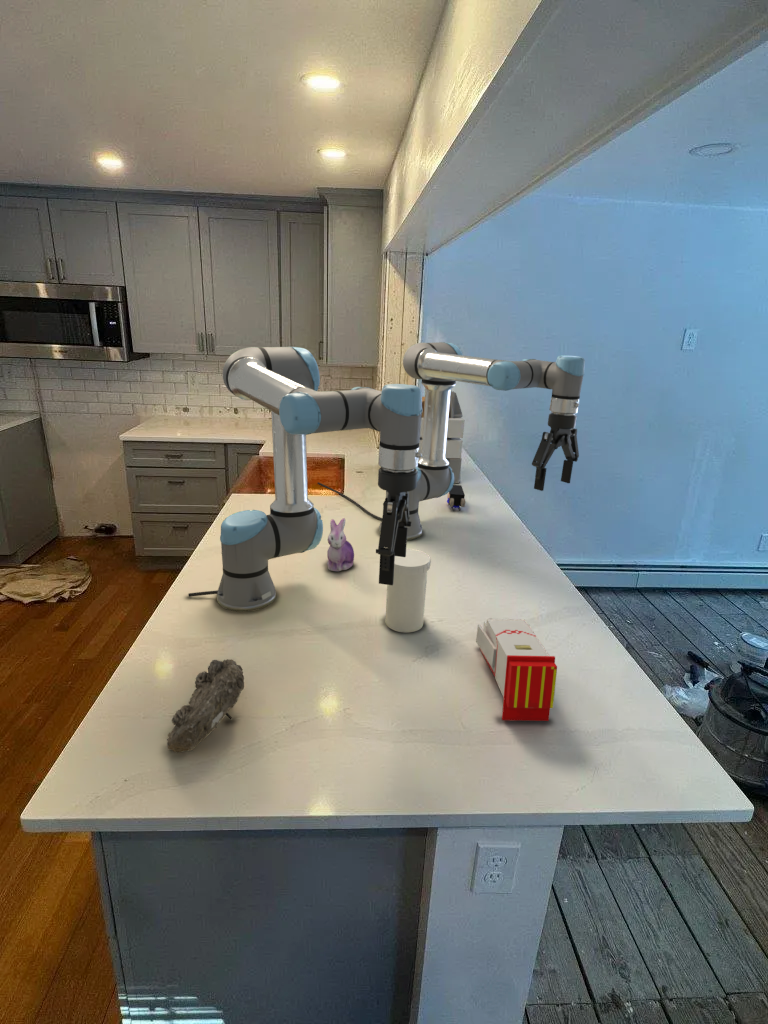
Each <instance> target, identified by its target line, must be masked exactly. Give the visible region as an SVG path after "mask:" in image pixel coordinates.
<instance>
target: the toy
mask: <svg viewBox="0 0 768 1024" xmlns="http://www.w3.org/2000/svg"><path fill="white" fill-rule="evenodd" d="M476 629H477V631H476V638H475V642H476V645H477V646H478V648H479V650H480V652H481V654H482V656H483V658H484V660H485V661H486V664H487V666H488V668H489V669H490V671H491V672H492V675H493V676H494V679H495V681H496V685H497V686H498V688H499V690H500V692H501V695H502V697H503V701H502V712H501V720H502V721H521V722H523V721H526V722H528V721H529V722H550V712H551V709H554V702H555V692H556V681H557V673H558V665H557V664H556V656H555V655H550V654H549V652H548V651H547V650H546V648H545V647H544V645H543V644H542V642H541V641H540V639H539V638H538V637H537V635H536V634H535V632H534V631H533V629H532V627H531V625H530V624H528V623H527V621H526V619H521V618H518V619H515V618H513V619H512V618H486V620H484V621H483V626H482V625H481V624H477V628H476Z"/></svg>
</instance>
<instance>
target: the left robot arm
mask: <svg viewBox="0 0 768 1024" xmlns="http://www.w3.org/2000/svg"><path fill="white" fill-rule="evenodd" d="M320 379H321V375H320V370H319V366H318V363H317V361H316V359H315V357H314V355H313V353H311V352H310V350H308V349H307V348H304V347H297V346H274V347H273V346H262V347H261V346H259V347H257V346H249V347H245V348H240V349H239V350H237V351H235V352H233V353H232V354H230V356H228V358H227V359H226V361H225V362H224V365H223V367H222V381H223V383H224V386H225V387H226V389H227V390H228V391H229V392H230V393H231V394H233V395H234V396H235V397H237V398H239V399H241V400H243V401H253V402H254V403H257V404H258V405H260V406H262V408H265V409H267V410H269V411H270V412H271V436H272V437H271V438H272V453H273V458H272V459H273V476H274V477H273V479H274V498H275V499H274V500H273V502H272V503H270V504H269V514H266V513H265V512H264V511H262V510H259V509H252V510H250V509H245V510H241V511H237V512H234V513H232V514H229V515H228V516H227V517H225V519H224V520H223V521H222V522H221V525H220V535H219V541H220V545H221V546H220V547H221V561H222V563H221V564H222V565H221V566H222V576H221V579H220V582H219V585H218V589H217V590H208V591H207V590H206V591H197V592H189V593H188V597H189V598H190V597H199V596H207V595H208V596H209V595H216V596H217V597H216V599H217V601H216V602H217V604H218V605H219V606H220V607H221V608H223V609H225V610H228V611H233V612H240V613H241V612H244V613H245V612H254V611H258V610H262V609H264V608H267V607H268V606H270V605H272V604H273V602H275V600H276V598H277V591H276V586H275V583H274V581H273V578H272V576H271V573H270V571H269V560H273V559H276V558H281V557H285V556H286V557H287V556H290V555H295V554H304V553H306V552H307V551H311V550H314V549H316V548H317V546H319V544H320V543H321V541H322V538H323V534H324V522H323V519H322V515H321V512H320V511H319V509H317V508H316V507H315V504H314V502H313V501H311V500H310V499H309V492H308V491H309V490H308V457H307V456H308V454H307V452H308V451H307V435H311V434H312V435H313V434H319V433H320V434H321V433H330V432H331V433H332V432H339V431H340V432H341V431H353V430H363V429H369V430H373V431H376V432H379V444H378V466H379V469H377V470H378V471H377V472H378V473H377V486H378V488H380V489H381V490H383V491H385V492H386V491H387V492H388V498H386V497H385V499H384V501H383V503H382V517H381V518H382V520H381V522H382V524H381V531H380V532H379V539H378V548H376V549H375V554H377V555H379V569H378V570H379V572H378V584H380V585H384V586H385V585H386V586H387V585H393V581H394V562H395V556H399V557H406V548H407V542H408V540H407V528H406V527H405V526H407V527H411V522H410V521H409V519H410V517H409V492H410V491H413V490H415V489H416V487H417V476H418V471H417V470H416V469H415V468H417V467H418V458H421V457H422V454H421V453H420V452H419V453H418V450H419V443H420V430H421V416H422V411H423V408H422V397H423V392H422V389H421V388H420V387H419V386H417V385H414V384H406V383H389V384H385V385H383V386H382V388H381V390H377V389H375V388H371V387H369V386H354V387H352V388H350V389H349V390H329V391H318V390H319V387H320V384H321V380H320Z"/></svg>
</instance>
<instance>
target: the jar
mask: <svg viewBox="0 0 768 1024" xmlns="http://www.w3.org/2000/svg"><path fill="white" fill-rule="evenodd" d="M427 581H428V571H427V572H425V573H422V574H418V575H403V574H398V573H395V572H394V581H393V585H386V601H385V620H384V621H385V625H386V627H388V628H389V629H391V630H392V631H395V632H398V633H413V632H417V631H419V630H421V629H422V628H423V626H424V620H425V606H426V595H427V593H426V592H427Z"/></svg>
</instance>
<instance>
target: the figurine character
mask: <svg viewBox="0 0 768 1024" xmlns="http://www.w3.org/2000/svg"><path fill="white" fill-rule="evenodd" d="M446 495H447V496H446V497H447V500H446V503H447V504H448V506H449V508H450V509H451V511H454V509H458V511H461V510H462V509H461V508H465V505H466V497H465V496H466V494H465V492H464V488H463V486H462V485H461V484H453V487H452V489H451V490H450V491H449V492H448V493H447V494H446Z"/></svg>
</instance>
